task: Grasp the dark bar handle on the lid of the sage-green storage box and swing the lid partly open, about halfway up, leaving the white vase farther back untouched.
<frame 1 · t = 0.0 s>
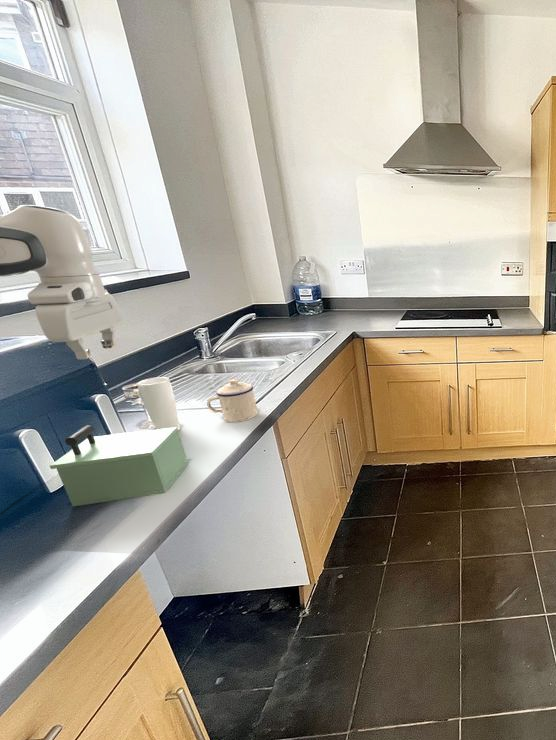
hand: (97, 352, 92), 27 cm above the table, tool pointing down, fingers open, 8 cm apart
storage box: (135, 483, 91), on the table
wineglass: (150, 425, 119), on the table
teacup with lid: (236, 418, 124), on the table
white vase: (169, 432, 115), on the table
box lid: (116, 437, 87), point 11 cm above the table, hinge at 0.0°
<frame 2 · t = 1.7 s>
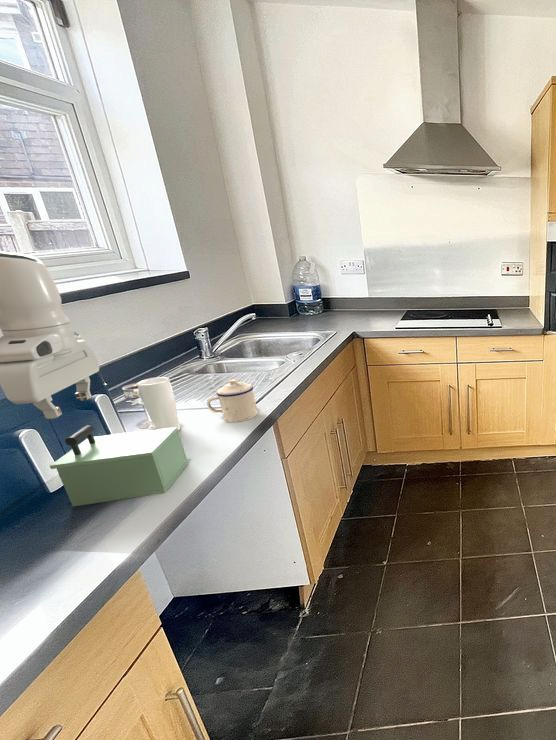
hand: (70, 407, 83), 19 cm above the table, tool pointing down, fingers open, 8 cm apart
nothing on the table moved.
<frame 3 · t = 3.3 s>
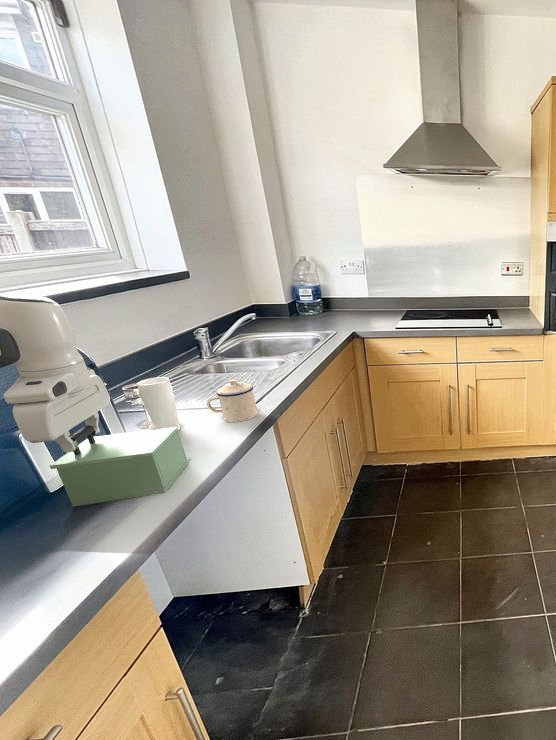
hand: (82, 442, 86), 11 cm above the table, tool pointing down, fingers closed on box lid, 6 cm apart
box lid: (116, 437, 87), point 11 cm above the table, hinge at 0.0°, touching gripper
everything else where it was.
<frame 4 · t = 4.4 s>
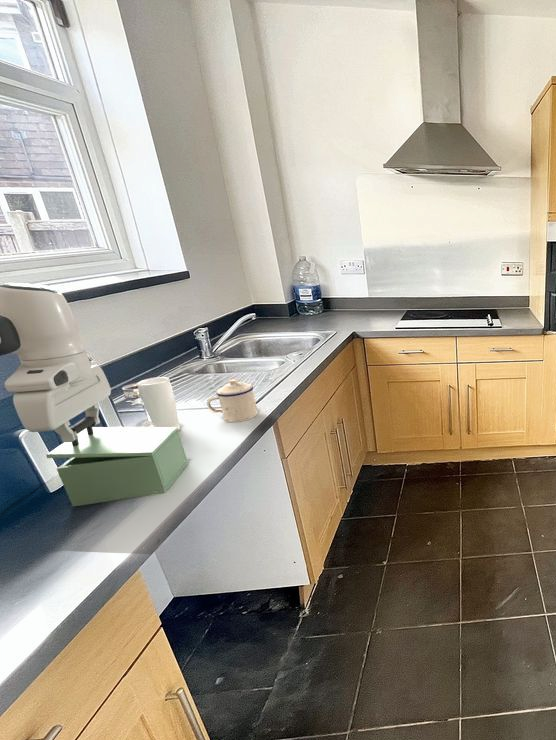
hand: (82, 432, 85), 13 cm above the table, tool pointing down, fingers closed on box lid, 6 cm apart
box lid: (117, 432, 87), point 12 cm above the table, hinge at 8.4°, touching gripper
everything else where it was.
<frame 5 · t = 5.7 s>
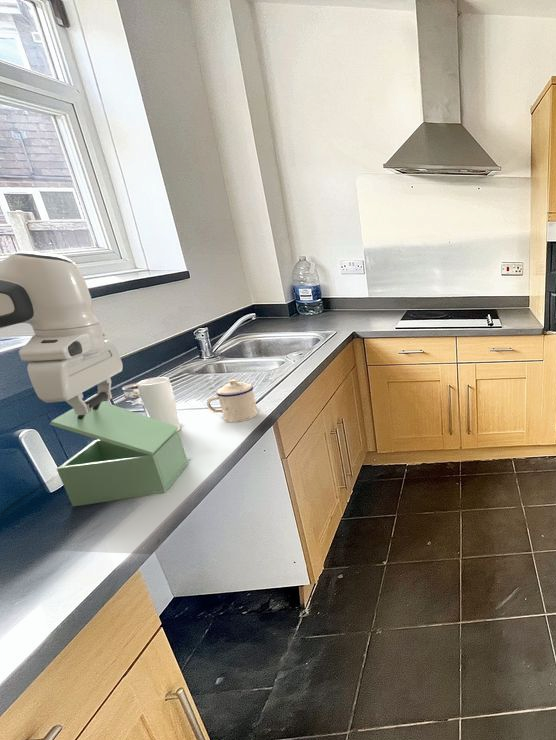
hand: (95, 406, 84), 19 cm above the table, tool pointing down, fingers closed on box lid, 6 cm apart
box lid: (124, 418, 86), point 15 cm above the table, hinge at 33.5°, touching gripper
everything else where it was.
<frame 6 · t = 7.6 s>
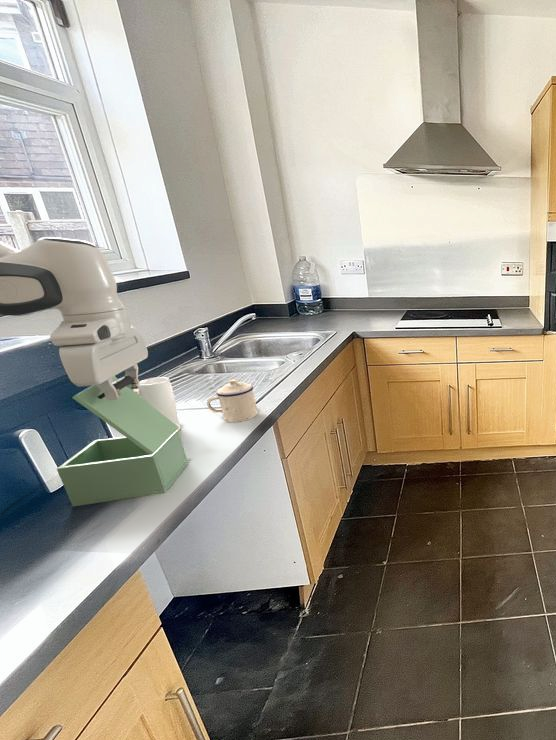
hand: (124, 392, 85), 21 cm above the table, tool pointing down, fingers closed on box lid, 6 cm apart
box lid: (139, 408, 87), point 17 cm above the table, hinge at 57.5°, touching gripper
everything else where it was.
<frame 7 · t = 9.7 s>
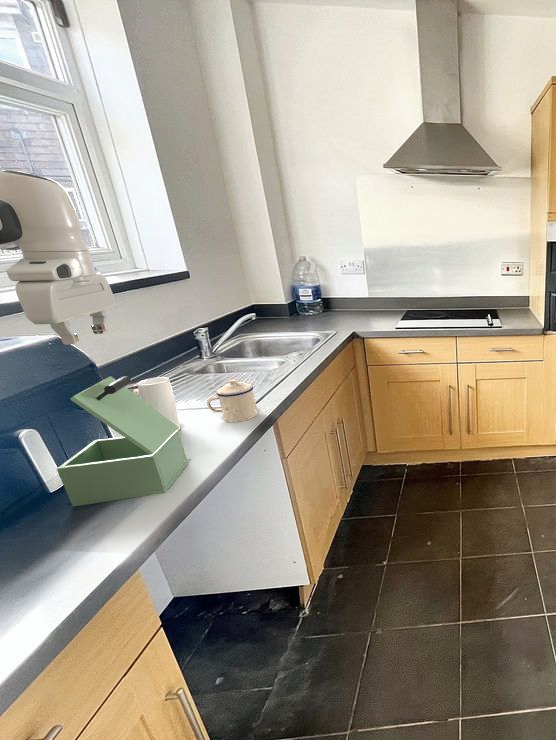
hand: (87, 338, 83), 32 cm above the table, tool pointing down, fingers open, 8 cm apart
box lid: (138, 408, 87), point 17 cm above the table, hinge at 55.8°
everything else where it was.
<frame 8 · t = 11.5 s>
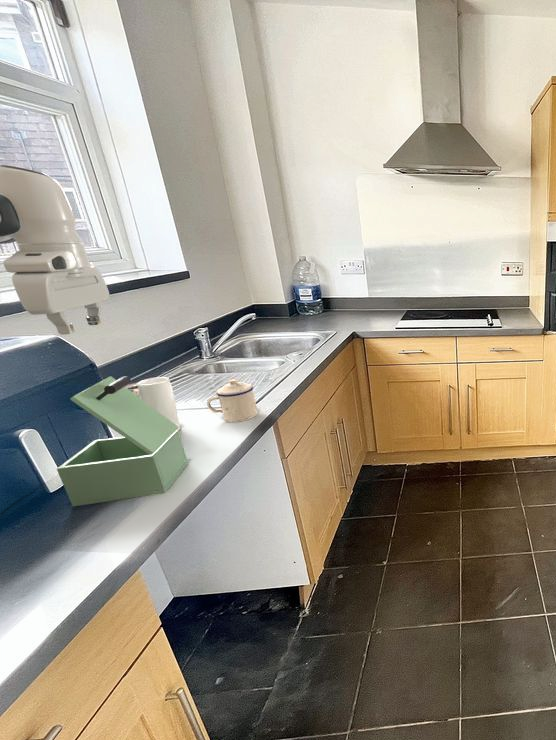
hand: (82, 329, 86), 33 cm above the table, tool pointing down, fingers open, 8 cm apart
nothing on the table moved.
at the end: box lid at +56° (first picture: +0°); white vase moved 0.2 cm from its start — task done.
